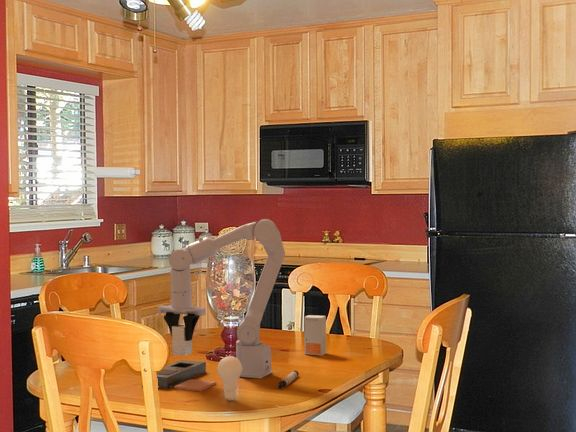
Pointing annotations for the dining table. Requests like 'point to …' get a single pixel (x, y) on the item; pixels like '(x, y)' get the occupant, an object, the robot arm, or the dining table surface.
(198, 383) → the mat
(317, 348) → the skincare box
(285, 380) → the marker
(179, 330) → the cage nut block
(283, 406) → the dining table surface
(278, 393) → the dining table surface
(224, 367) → the lightbulb
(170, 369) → the grey slotted tray
